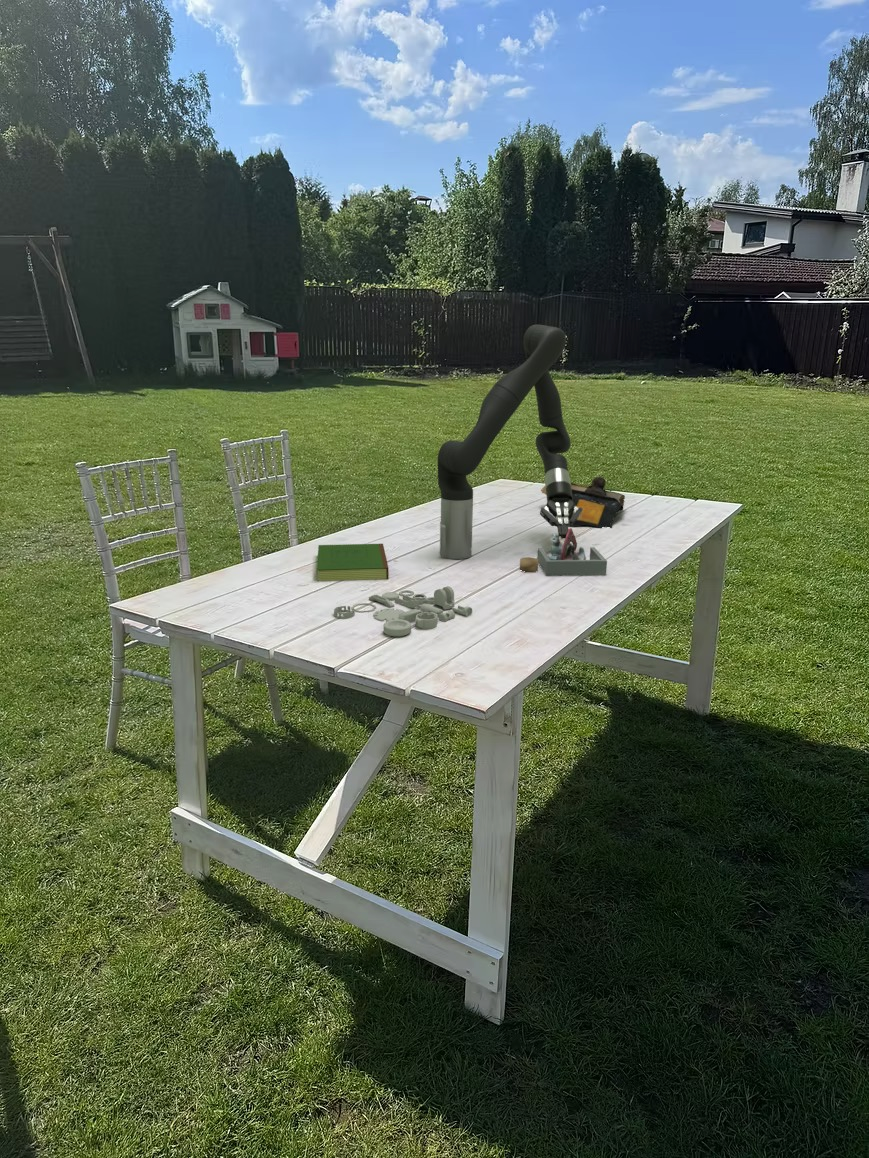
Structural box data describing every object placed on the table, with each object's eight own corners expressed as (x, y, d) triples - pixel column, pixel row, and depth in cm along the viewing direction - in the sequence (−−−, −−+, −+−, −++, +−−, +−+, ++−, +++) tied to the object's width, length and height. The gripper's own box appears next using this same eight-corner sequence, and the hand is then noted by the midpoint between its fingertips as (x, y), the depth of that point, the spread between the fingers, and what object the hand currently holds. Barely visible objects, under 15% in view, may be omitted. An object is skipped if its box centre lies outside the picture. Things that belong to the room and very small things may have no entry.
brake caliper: (584, 566, 212) (561, 528, 212) (553, 584, 218) (530, 548, 218) (598, 556, 221) (575, 520, 222) (567, 574, 227) (545, 539, 228)
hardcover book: (388, 581, 208) (388, 567, 207) (317, 583, 206) (316, 569, 205) (383, 555, 232) (382, 542, 230) (319, 556, 229) (318, 544, 228)
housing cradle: (546, 575, 211) (546, 561, 210) (537, 561, 224) (537, 547, 223) (606, 575, 212) (607, 560, 211) (593, 560, 225) (594, 547, 224)
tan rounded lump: (521, 573, 214) (521, 562, 213) (518, 567, 219) (518, 557, 218) (539, 573, 214) (539, 562, 213) (536, 567, 219) (536, 557, 218)
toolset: (635, 527, 259) (573, 478, 255) (595, 568, 268) (534, 522, 264) (628, 487, 294) (572, 443, 290) (592, 524, 303) (538, 482, 299)
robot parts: (324, 615, 184) (323, 594, 182) (403, 591, 200) (403, 571, 198) (395, 645, 167) (394, 622, 165) (474, 615, 183) (475, 594, 182)
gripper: (538, 480, 231) (543, 530, 223) (582, 479, 231) (589, 530, 223) (534, 494, 237) (539, 543, 230) (577, 493, 238) (584, 543, 230)
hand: (564, 537), depth 227 cm, fingers closed
